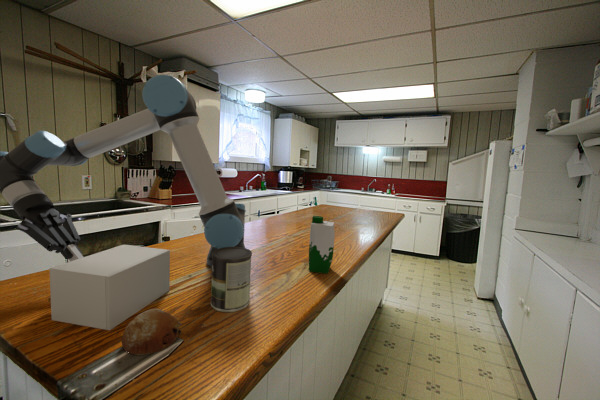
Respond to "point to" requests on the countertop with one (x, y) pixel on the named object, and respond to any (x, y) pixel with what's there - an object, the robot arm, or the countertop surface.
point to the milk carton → (321, 245)
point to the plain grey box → (108, 285)
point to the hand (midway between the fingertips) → (82, 265)
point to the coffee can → (230, 278)
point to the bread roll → (150, 332)
